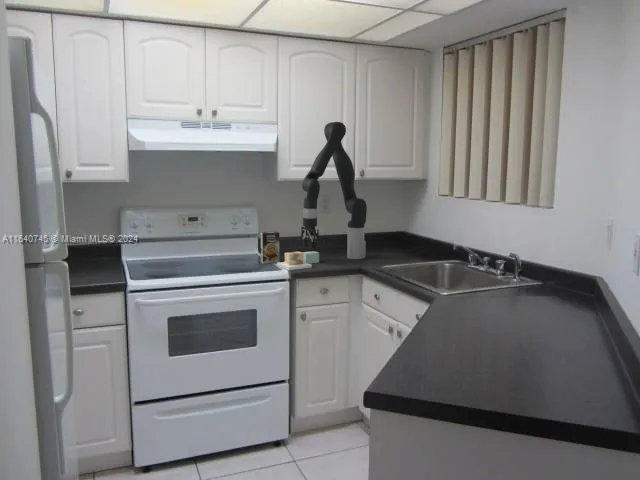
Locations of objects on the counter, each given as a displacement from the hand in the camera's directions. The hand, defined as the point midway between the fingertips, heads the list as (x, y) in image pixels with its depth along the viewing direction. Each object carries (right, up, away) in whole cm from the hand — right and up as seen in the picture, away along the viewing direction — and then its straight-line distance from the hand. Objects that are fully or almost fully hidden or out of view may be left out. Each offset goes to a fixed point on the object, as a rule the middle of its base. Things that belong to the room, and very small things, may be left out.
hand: (309, 247), depth 278 cm
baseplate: (-8, -9, -9) cm, 15 cm away
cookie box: (-21, -8, +1) cm, 22 cm away
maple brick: (-8, -8, -10) cm, 15 cm away
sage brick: (0, -8, +1) cm, 8 cm away
